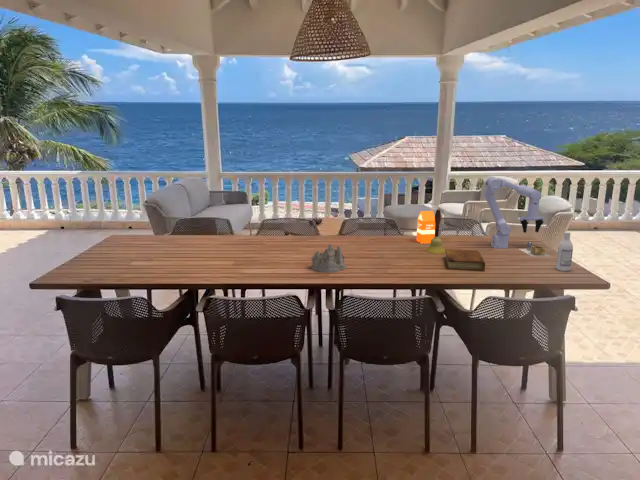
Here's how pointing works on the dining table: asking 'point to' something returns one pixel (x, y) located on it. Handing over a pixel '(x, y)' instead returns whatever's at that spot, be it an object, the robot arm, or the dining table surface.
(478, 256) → the diary
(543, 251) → the collar
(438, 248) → the handbell
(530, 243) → the post
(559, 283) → the dining table surface
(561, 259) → the bath foam
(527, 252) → the board
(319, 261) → the grey sandcastle
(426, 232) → the orange juice
